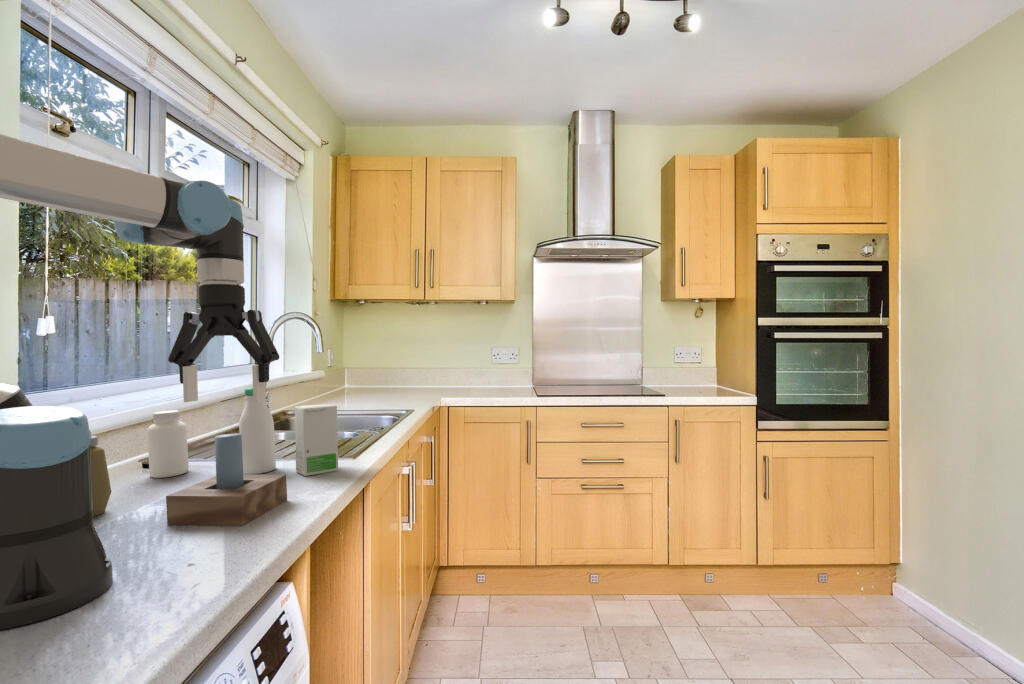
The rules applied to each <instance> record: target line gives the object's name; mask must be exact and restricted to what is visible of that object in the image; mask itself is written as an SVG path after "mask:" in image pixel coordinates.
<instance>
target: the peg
mask: <svg viewBox="0 0 1024 684" xmlns="http://www.w3.org/2000/svg"><path fill="white" fill-rule="evenodd" d="M214 454H215V455H214V457H215V476H216V483H217V489H237V488H239V487H241V486H243V485H244V479H243V475H244V474H243V453H242V434H239V433H228V434H227V433H226V434H225V433H224V434H219V435H216V436H214Z"/></svg>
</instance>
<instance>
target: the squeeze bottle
mask: <svg viewBox="0 0 1024 684" xmlns="http://www.w3.org/2000/svg"><path fill="white" fill-rule="evenodd" d="M91 436H92V439H91V444H90V452H91V477H92V502H93V517H97V516H99V515H101V514H104V512H106V510H107V509H106V508H107V506H108V504H109V501H110V497H111V493H112V488H111V487H112V486H111V482H110V476H109V471H108V470H109V468H108V464H107V458H106V452H105V449H104V448H102V447H101V446H98V443H99V442H98V441H99V440H98V436H97V435H91Z"/></svg>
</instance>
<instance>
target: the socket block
mask: <svg viewBox="0 0 1024 684" xmlns="http://www.w3.org/2000/svg"><path fill="white" fill-rule="evenodd" d="M243 479H244V485H243V486H241V487H239V488H237V489H217V483H216V475H215V476H213V477H211V478H207V479H204V480H202V481H200V482H197V483H195V484H192V485H190V486H187V487H185V488H182V489H179V490H177V491H174V492H172V493H169V494H167V495H165V501H166V502H165V506H166V522H167V523H166V525H169V526H172V525H173V526H220V527H221V526H227V527H228V526H229V527H231V526H232V527H234V526H235V527H243V526H245V525H246V524H248V523H250V522H251V521H253V520H256V519H257V518H259V517H260V516H262V515H265V514H266V513H268V512H270V511H271V510H273V509H275V508H276V507H278V506H279V505H281V504H283V503H285V502H286V501H288V486H287V474H243Z"/></svg>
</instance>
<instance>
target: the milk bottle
mask: <svg viewBox="0 0 1024 684" xmlns="http://www.w3.org/2000/svg"><path fill="white" fill-rule="evenodd" d="M244 399H245V405H244V408H243V411H242V413H241V415H240V418H239V422H238V434H242V453H243V475H261V474H265V473H269V472H272V471H274V470H275V469H276V466H277V462H276V461H277V459H276V457H277V456H276V438H275V436H276V435H275V422H274V418H273V415H272V412H271V410H270V409H269V407H268V405H267V402H266V400H262V401H257V402H253V387H247V388H245V389H244Z"/></svg>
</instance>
